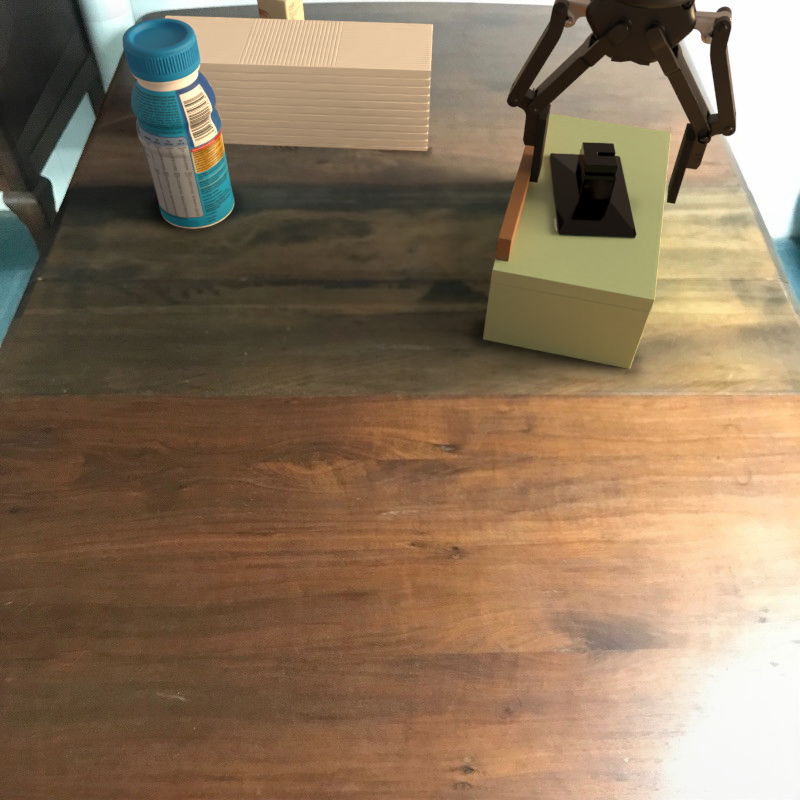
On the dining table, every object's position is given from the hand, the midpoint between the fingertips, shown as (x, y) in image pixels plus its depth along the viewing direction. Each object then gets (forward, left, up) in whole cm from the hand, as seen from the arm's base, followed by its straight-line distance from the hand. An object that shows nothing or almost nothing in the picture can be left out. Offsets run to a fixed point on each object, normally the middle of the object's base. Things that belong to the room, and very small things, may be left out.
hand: (602, 184), depth 75 cm
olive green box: (+1, +1, -11) cm, 11 cm away
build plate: (+1, +1, -2) cm, 2 cm away
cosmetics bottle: (+54, +5, -11) cm, 55 cm away
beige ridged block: (+40, +11, -11) cm, 43 cm away
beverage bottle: (+32, +29, -11) cm, 44 cm away
